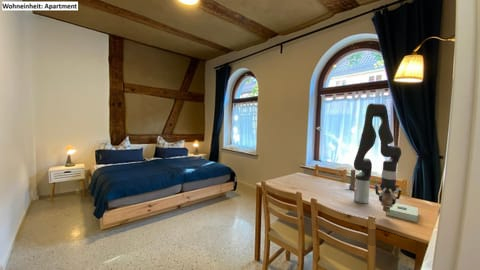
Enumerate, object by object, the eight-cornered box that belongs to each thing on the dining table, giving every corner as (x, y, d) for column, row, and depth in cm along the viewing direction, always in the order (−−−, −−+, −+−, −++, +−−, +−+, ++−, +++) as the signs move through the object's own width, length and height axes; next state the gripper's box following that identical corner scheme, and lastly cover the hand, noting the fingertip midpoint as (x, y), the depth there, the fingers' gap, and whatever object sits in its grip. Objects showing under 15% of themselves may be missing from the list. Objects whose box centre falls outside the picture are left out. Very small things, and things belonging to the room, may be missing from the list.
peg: (379, 210, 135) (381, 193, 134) (381, 207, 139) (382, 190, 138) (391, 213, 131) (393, 195, 130) (392, 210, 135) (394, 193, 134)
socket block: (385, 214, 139) (386, 208, 139) (388, 207, 152) (388, 201, 151) (417, 222, 129) (417, 215, 129) (417, 213, 141) (417, 207, 141)
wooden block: (362, 189, 191) (363, 169, 190) (351, 190, 189) (352, 170, 188) (359, 188, 195) (360, 168, 193) (349, 188, 193) (349, 169, 192)
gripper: (403, 178, 131) (401, 204, 133) (376, 173, 141) (374, 198, 142) (402, 181, 126) (400, 208, 127) (374, 176, 135) (372, 201, 136)
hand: (386, 202), depth 135 cm, fingers closed on peg, 6 cm apart
